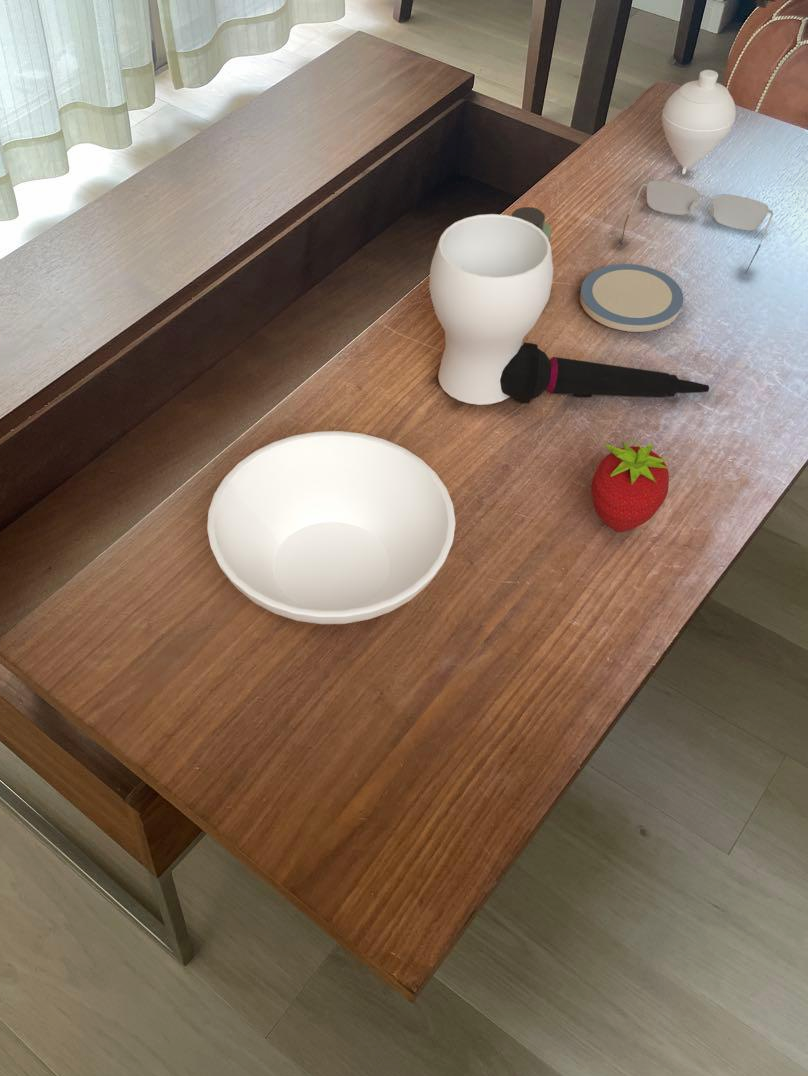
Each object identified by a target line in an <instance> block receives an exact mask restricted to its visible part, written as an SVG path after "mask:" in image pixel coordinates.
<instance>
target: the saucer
mask: <svg viewBox="0 0 808 1076" xmlns="http://www.w3.org/2000/svg"><path fill="white" fill-rule="evenodd" d="M580 287H581V288H580V291H579V303H580V305H581V307H582V309H583V310H584V312H585V313H586V314H587V315H588V316H589V317H590V318H591V319H593V320H594V321H596V322H597V323H599V324H601V325H603V326H605V327H608V328H611V329H614V330H617V331H623V332H630V333H643V332H644V333H645V332H651V331H655V330H659V329H663V328H665V327H667V326H668V325H670V324H672V322H674V321H675V320H676V319H677V318H678V317H679V315H680V313H681V311H682V308H683V304H684V294H683V290H682V288H681V287H680V285H679V284H678V283H677V282H676V280H674V279H673V278H672V277H671V276H669V275H668V274H666V273H664V272H663V271H660V270H658V269H655V268H653V267H649V266H645V265H641V264H634V263H617V264H610V265H606V266H602V267H600V268H598V269H595V270H593V271H592V272H590V273H589V274H588V275H587V276H586V277H585V278H584V280H583V281H582V284H581V286H580Z"/></svg>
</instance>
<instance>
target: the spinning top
mask: <svg viewBox="0 0 808 1076" xmlns="http://www.w3.org/2000/svg"><path fill="white" fill-rule="evenodd" d="M718 73H719V72H717V71H715V70H713V69H704V70H701V71H700V73H699V75H698V80H692V81H688V82H686V83H684V84H682V85H681V86H680V87H679V88H678V89H676V90H675V91H674V92H673V93H672V94H671V95H669V97H668V98H667V100H666V102H665V103H664V105H663V109H662V114H661V123H662V124H661V125H662V128H663V133H664V135H665V139H666V141H667V143H668V145H669V148H670V149H671V151H672V153H673V155H674V157H675V159H676V160H677V162H678V163H679V165H680V166H681V167H682V169H681V170H682V171H681V174H682V175H685V174H686V172H687V169H688V168H689V167H691V166H692V165H694V164H696V163H697V162H699V161H700V160H701V159H703V158H704V157H705V156H707V154H709V153H710V152H711V151H713V150H714V149H715V148H717V146H718V145H719V144H720V143H721V142H722V141H723V140H724V139H725V137H726V136H727V135H728V134H729V133H730V131H731V130H732V128H733V125H734V123H735V120H736V114H737V108H736V104H735V101H734V98H733V96H732V95H731V93H730V91H729V89H728V88H727V87H725V86H724V85H723V84H721V83H719V82H717V80H718V77H719V74H718Z"/></svg>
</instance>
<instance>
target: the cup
mask: <svg viewBox="0 0 808 1076" xmlns="http://www.w3.org/2000/svg"><path fill="white" fill-rule="evenodd" d="M553 263H554V262H553V253H552V246H551V243H550V242H549V240H548V237H547V236H546V235H545V234H544V233H543V231H542V230H541V229H539V228H538V227H536V226H535V225H534V224H532V223H530V222H528V221H525V220H523V219H520V218H517V217H512V215H508V214H497V213H487V214H477V215H472V216H468V217H464V218H463V219H460V220H457V221H455V222H454V223H452V224H451V225H450V226H448V227H447V228H446V229H445V230H443V232H442V234H441V235H440V237H439V240H438V242H437V245H436V247H435V251H434V254H433V256H432V260H431V265H430V267H429V284H428V289H429V294H430V299H431V303H432V305H433V309H434V313H435V316H436V318H437V320H438V322H439V323H440V325H441V327H442V329H443V330H444V340H445V341H444V342H445V347H444V351H443V354H442V357H441V360H440V365H439V370H438V374H437V377H438V382H439V383H438V384H439V385H440V387H441V388H442V390H443V392H445V393H447V395H449V396H450V397H451V398H453V399H455V400H457V401H459V402H463V403H465V404H469V405H470V404H471V405H478V406H483V405H493V404H496V403H500V402H503V401H505V400H507V399H509V398H511V397H510V396H508V395H506V394H504V393H503V392H502V390H501V384H500V378H501V375H502V372H503V370H504V368H505V367H506V365H507V364H508V363H509V361H510V360H511V359H512V358H513V357H514V356H515V355H516V354H517V352H518V351H519V349H520V347H521V346H522V345H523V342H524V338H525V336H527V334H528V333H529V332H530V331H531V330H532V329H533V328H534V327H535V325H536V323H537V322H538V321H539V319H540V317H541V316H542V313H543V311H544V309H545V308H546V306H547V304H548V302H549V300H550V297H551V291H552V286H553V285H552V284H553V281H554V280H553V279H554V278H553V277H554V264H553Z"/></svg>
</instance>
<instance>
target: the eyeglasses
mask: <svg viewBox="0 0 808 1076" xmlns="http://www.w3.org/2000/svg"><path fill="white" fill-rule="evenodd" d="M643 187H646V202H647V205H648V207H649V208H650V209H651V210H654V211H656V212H660V213H663V214H668V215H674V216H686V215H687V214H689V213H690V212H693V211H694V210H695V209H696V208H697V206H698V204H699V203H698V202H699V199H700V198H706V199H711V200H712V205H710V207H709V209H710V215H711V216H712V217H714V220H715V221H716V222H717V223H718V224H720V225H722V226H725V227H728V228H732V229H735V230H740V231H750V232H751V231H755V230H757V229H758V228H759V227H760V226H761V225H762V224H763V222H764V221H765V219H766V217H767V215H768V214H770V216H769V219H768V222H767V224H766V227H765V229H764V232H763V235H762V238H761V240H760V242H759V244H758V246H757V248H756V251H755V253H754V255H753V256H752V259H751V260H750V263H749V265H748V267H747V269H746V272H745V274H747V273H748V271H749V269H750V267H751V265H752V263H753V261H754V259H755V257H756V256H757V254H758V253H759V250H760V247H761V245H762V242H763V240H764V238H765V235H766V232H767V230H768V228H769V225H770V223H771V221H772V218H773V216H774V211H773V210H771V209H769V206H768V205H767V204H766V203H764V202H761V201H759V200H756V199H752V198H749V197H746V196H745V197H744V196H741V195H735V194H726V193H725V194H718V195H716V196H715V197H712V196H708V195H703V194H700V191H698V190H697V189H696V188H694V187H693V186H690V185H687V184H683V183H678V182H673V181H670V180H669V181H667V180H658V179H653V180H650V181H648V183H645V182H644V183H642V185H641V186H640V187H639V190H638V192H637V195H636V196H635V199H634V202H633V204H632V205H631V208H630V210H629V213H628V214H627V216H626V219H625V221H624V225H623V230H622V235H621V240H620V246H621V245H623V241H624V236H625V230H626V225H627V222H628V220H629V218H630V215H631V212H632V210H633V208H634V206H635V204H636V202H637V200H638V198H639V195H640V194H641V192H642V190H643Z"/></svg>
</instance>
